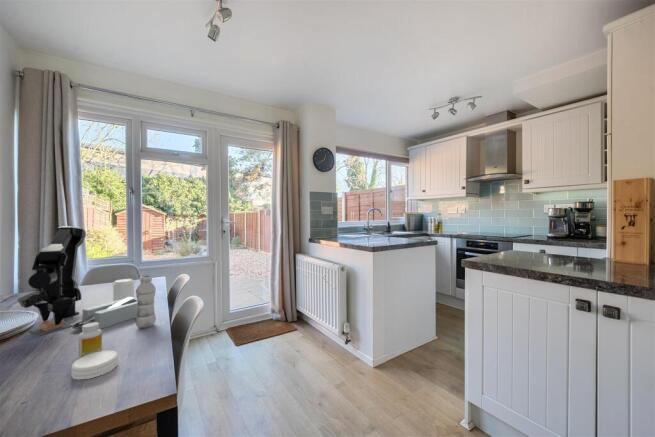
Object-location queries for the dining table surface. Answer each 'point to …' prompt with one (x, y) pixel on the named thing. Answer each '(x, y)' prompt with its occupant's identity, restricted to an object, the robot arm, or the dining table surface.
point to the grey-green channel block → (111, 313)
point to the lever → (91, 318)
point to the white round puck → (94, 364)
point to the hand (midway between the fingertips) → (51, 322)
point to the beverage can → (123, 289)
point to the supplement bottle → (90, 339)
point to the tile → (50, 325)
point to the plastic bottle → (145, 303)
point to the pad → (43, 332)
